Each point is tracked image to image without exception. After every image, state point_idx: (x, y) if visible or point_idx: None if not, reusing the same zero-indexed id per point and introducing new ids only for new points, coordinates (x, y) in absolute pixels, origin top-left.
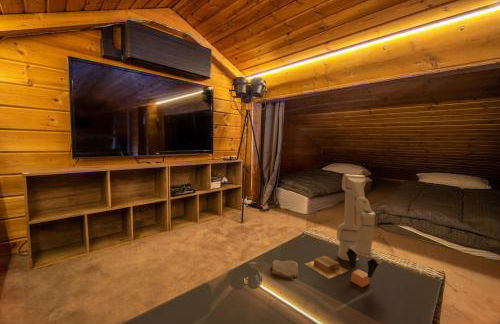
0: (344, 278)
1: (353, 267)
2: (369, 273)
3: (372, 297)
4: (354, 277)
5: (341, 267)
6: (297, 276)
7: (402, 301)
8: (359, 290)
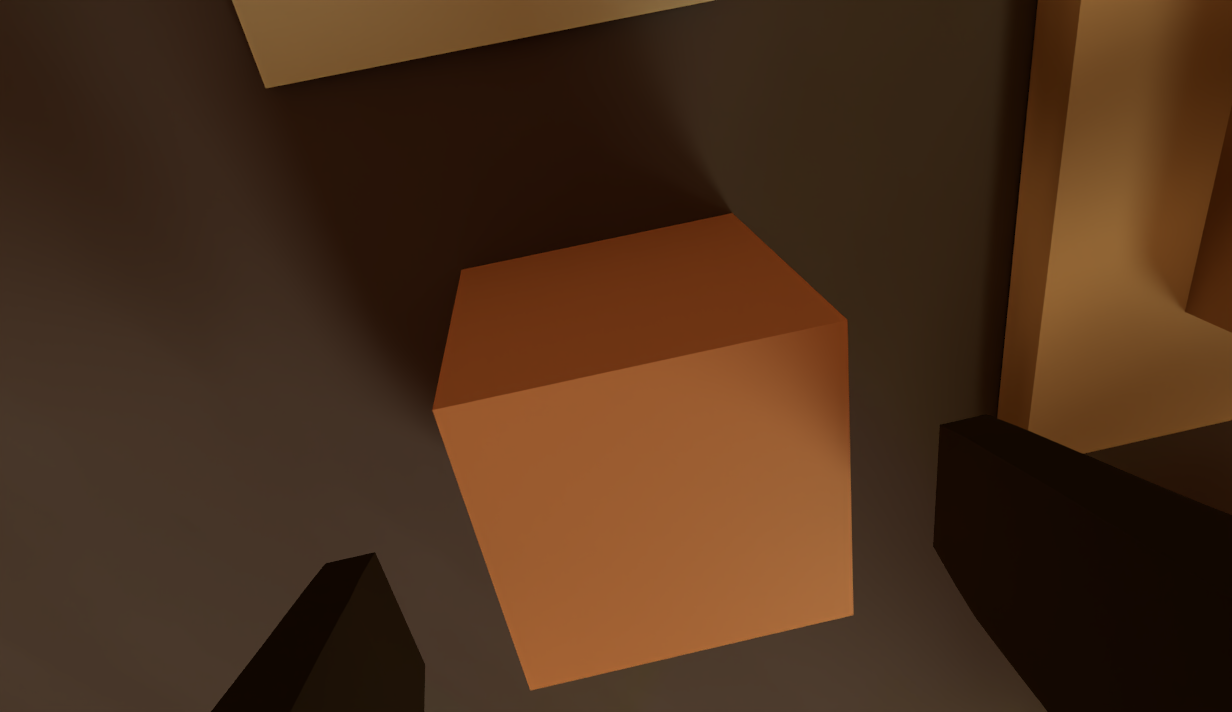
0: (917, 210)
1: (955, 509)
2: (237, 691)
3: (154, 267)
4: (704, 293)
5: (1178, 416)
6: None
7: (12, 683)
8: (446, 184)
